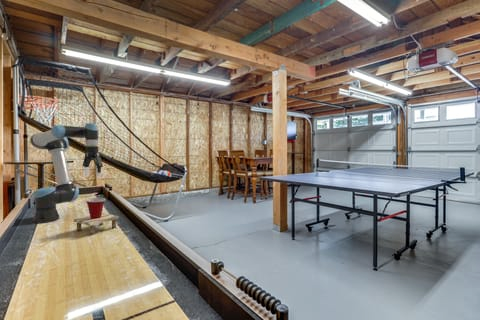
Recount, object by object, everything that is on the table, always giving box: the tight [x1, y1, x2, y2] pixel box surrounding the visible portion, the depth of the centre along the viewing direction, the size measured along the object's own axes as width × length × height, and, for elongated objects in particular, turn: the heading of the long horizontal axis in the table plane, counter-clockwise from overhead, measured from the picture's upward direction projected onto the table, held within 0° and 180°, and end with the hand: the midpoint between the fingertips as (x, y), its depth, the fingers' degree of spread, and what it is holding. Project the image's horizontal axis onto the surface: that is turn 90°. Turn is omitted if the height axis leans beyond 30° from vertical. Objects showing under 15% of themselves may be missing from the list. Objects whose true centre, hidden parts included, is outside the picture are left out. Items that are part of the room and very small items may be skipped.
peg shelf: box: [73, 212, 119, 236], centre depth 159 cm, size 18×18×8 cm
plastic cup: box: [85, 197, 106, 219], centre depth 158 cm, size 11×11×12 cm
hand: (92, 176), depth 173 cm, fingers open, 13 cm apart
